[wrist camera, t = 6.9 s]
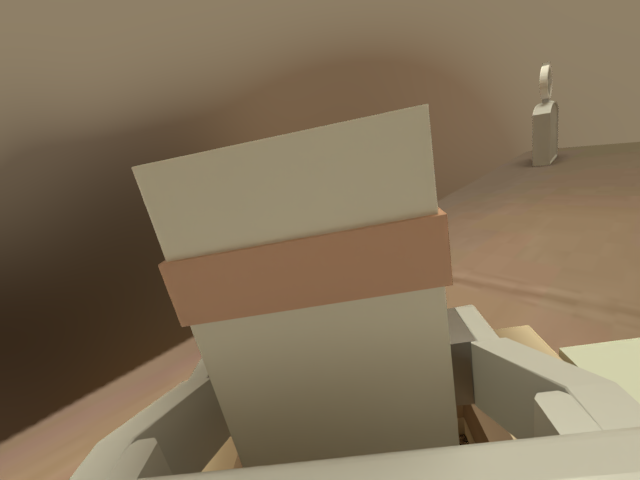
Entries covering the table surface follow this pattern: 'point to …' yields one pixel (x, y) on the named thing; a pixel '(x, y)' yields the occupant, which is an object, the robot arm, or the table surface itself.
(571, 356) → the pad
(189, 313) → the banded cream pillar
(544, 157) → the grey block with loop
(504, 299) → the table surface
